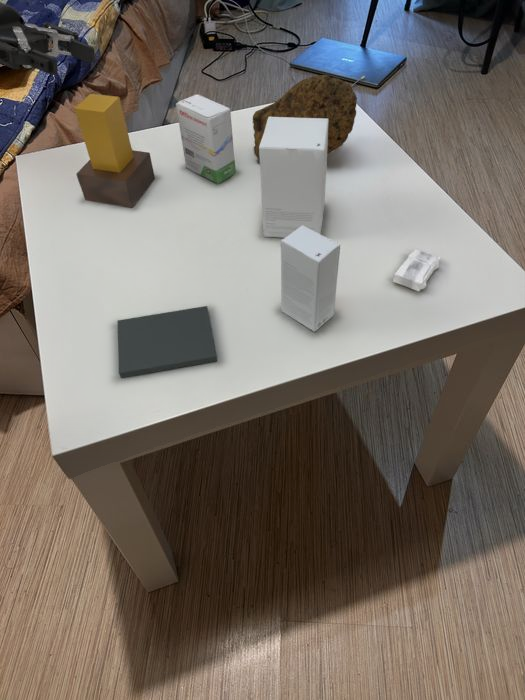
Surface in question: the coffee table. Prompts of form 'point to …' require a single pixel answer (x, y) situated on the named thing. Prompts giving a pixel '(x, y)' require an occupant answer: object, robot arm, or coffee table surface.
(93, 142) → the mustard block
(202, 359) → the rubber mat
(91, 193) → the walnut block
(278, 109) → the rock
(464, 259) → the coffee table surface
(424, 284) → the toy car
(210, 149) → the ink box
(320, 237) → the cosmetic box
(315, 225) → the rectangular carton
